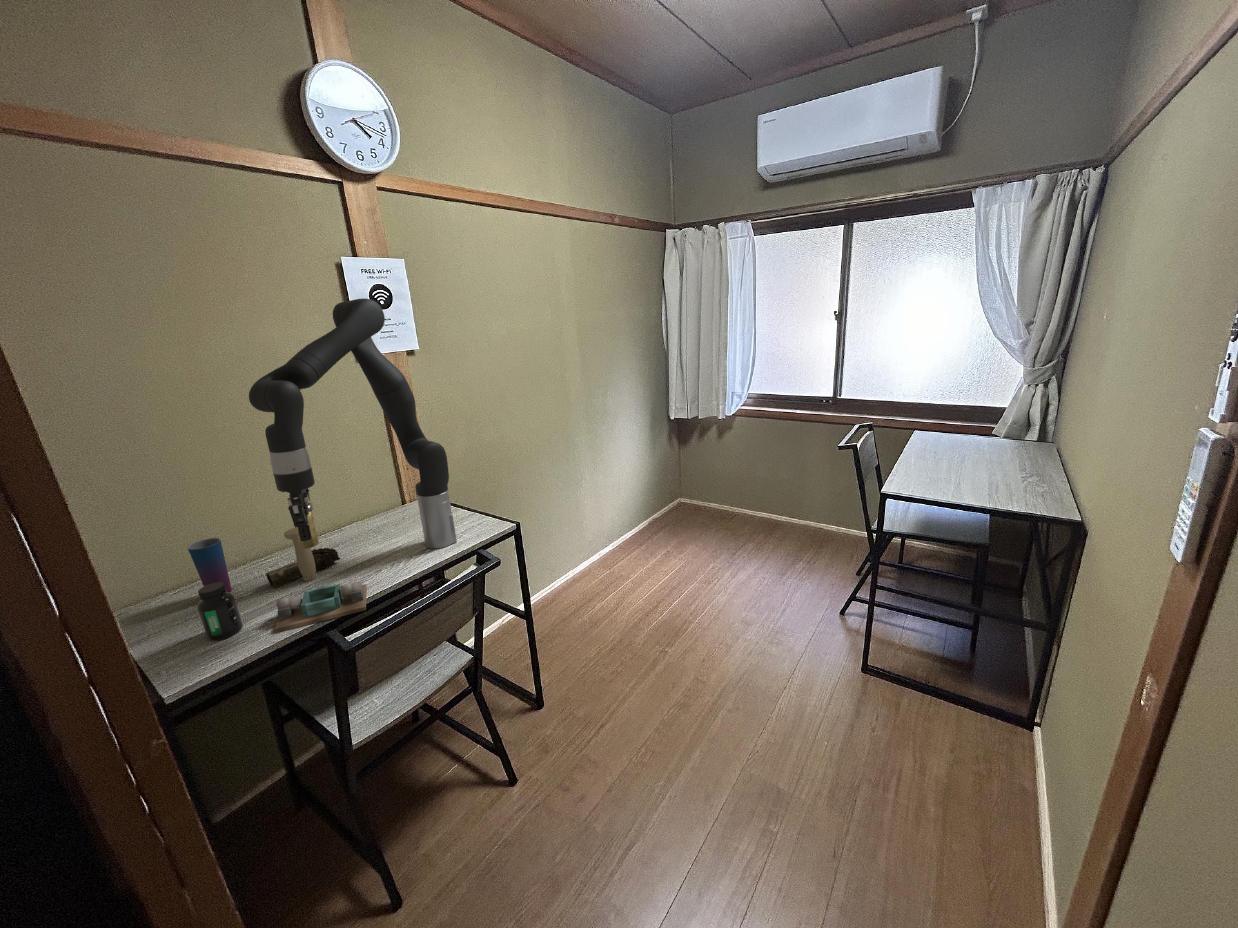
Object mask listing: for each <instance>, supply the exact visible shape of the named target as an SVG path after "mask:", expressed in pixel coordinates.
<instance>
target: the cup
mask: <svg viewBox="0 0 1238 928" xmlns="http://www.w3.org/2000/svg"><path fill="white" fill-rule="evenodd" d="M187 551H188V553H189V554H190V558H191V559H192V562H193V564H194V567H195V569H196V571H197V574H198V575H199V579H200V581H201V583H202V587H204V586H206V585H209V584H212V583H218V582H221V583H224V585H225V588H226V590H227V591H226V592H230V593H232V585H231V582H230V576H229V571H228V568H227V562H226V557H225V553H224V550H223V545H222V540H221V538H220V537H209V538H204V539H200V540H196V541H194V542H192V543H190V544H189V545H188V546H187Z"/></svg>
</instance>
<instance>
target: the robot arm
mask: <svg viewBox="0 0 1238 928" xmlns="http://www.w3.org/2000/svg"><path fill="white" fill-rule="evenodd" d="M332 319H333V322H334V325H335V328H333V329H331V330H330V331H329V332H327V333H326V334H324V335H322V336H320V337H318V338H316V339H314V340H313V341H311V342H310V343H309V344H307V345H305V346H304V347H303V348H301V349H300V350H299V351H297V353H296V354H294V356H292V357H291V358H290V359H289V360H288V361H287V362H286V363H285V364H283V365H282V366H278V367H277V368H275V369H274V370H272V371H270V372H269V373H266V374H265V375H263V376H262V377H260V378H259V379H258V380H256V381H255V382H254V383H253V384H252V386H251V388H250V389H249V391H248V400H249V402H250V405H251V406H252V407H253V408H254V409H255V410H258V411H259V412H264V413H273V414H274V415H273V416H274V417H273V419H274V420H273V421H274V422H273V423H272V424H268V425H267V427H266V428H265V434H264V435H265V438H266V439H265V440H266V442H267V447H268V451H269V457H270V458H269V461H270V465H271V469H272V475H273V477H274V483H275V486H276V490H277V491H279V492H281V493H288V494H289V496H288V497H287V502H288V510H289V514H290V517H291V519H292V522H293V527H294V528H295V527H298V531H299V535H300V539H301V541H308V540H311V538H312V536H311V531H310V527H309V520H308V515H309V514H310V512H309V506H308V503H312V502H311V493H310V490H309V488H311V487H313V486H314V485H315V484H316V483H315V477H314V472H313V467H312V463H311V458H310V454H309V452H308V449H307V447H306V441H305V436H304V432H303V424H304V413H305V412H304V409H305V408H304V407H305V400H304V396H303V394H302V391H301V390H304V389H309V388H311V387H313V386H314V385H315V384H316V383H317V382H319V380H320V379H321V378H323V376H324V375H325V374H327V373H328V372H329V371H330V370H331V368H333V367H334V366H335V365H336V364H337V363H338V362H339V361H341V360H342V359H343V358H344V357H345V356H346V355H347V354H349V353H350V352H351V353H352V354H353V357H355V360H356V361H357V363H358V365H359V366H360V368H361V371H362V372H363V374H364V376H365V377H366V380H367V381H368V383H369V385H370V388H371V389H372V392H373V394H374V395H375V398H376V399H377V401H378V403H379V405H380V407H381V409H382V410H383V413H384V414H385V416H386V418H387V419H388V422H389V423H390V426H391V427H392V429H393V431H394V433H395V435H396V437H397V441H398V442H399V445H400V447H401V450H402V453H403V456H404V457H405V460H406V462H407V463H408V465H409V466H411V467H412V468H414V469H416V470H418V472H419V480H420V481H419V482H416V485H415V494H416V498H417V499H416V500H417V505H418V511H419V515H420V521H421V526H422V533H423V541H424V545H425V546H426V548H429V549H442V548H445V547H448V546H451V545H452V544H456V543H458V540H457V533H456V529H455V528H456V527H455V521H454V515H453V512H452V505H451V501H450V494H449V487H448V484H449V480H450V473H449V463H448V456H447V452H446V450H445V448H444V447H443V445H442V444H440V443H439V442H435V441H431V440H429V439H428V438H427V437H426V436H425V434H424V433H423V430H422V429H421V427H420V424H419V422H418V419H417V411H416V410H417V408H416V407H417V406H416V400H415V395H414V393H413V391H412V388H411V387H410V384H409V382H408V381H407V378H406V377H405V375H404V374H403V372H402V371H401V370H400V369H399V368H398V367H397V366H395V365H394V364H393V363H392V362H391V361H390V360H389V359H388V358H387V357H386V356H384V354H382V352H381V351H380V350H379V349H378V347H377V346H376V344H375V342H374V340H373V338H372V337H373V336H374V335H376V334H378V333H379V332H381V330H382V329H383V327H384V326H385V320H386V317H385V313H384V311H383V308H382V306H381V305H380V304H379V303H377V301H375V300H373V299H371V298H370V299H369V298H356V299H350V300H346V301H341V302H338V303H337V304H336V305H334V307H333V309H332ZM304 509H306V511H305V512H304ZM298 519H303V521H299V520H298Z"/></svg>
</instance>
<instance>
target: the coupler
mask: <svg viewBox="0 0 1238 928" xmlns="http://www.w3.org/2000/svg"><path fill="white" fill-rule="evenodd" d="M308 506H309V512H310V514H309V515H308V520H309V527H310V531H311V536H312V538H311V540H308V541H301V539H300V535H299V531H298V527H295V526H294V528H295V529H296V533H297V537H298V542H299V546H300V548H302V549H306V548H314V547H316V546H318V545H319V544H320V541H319V536H318V532H317V528H316V523H315V519H314V515H313V510H314V506H313V503H312V502H311V503H308ZM305 511H306V509H304V512H305ZM298 520H299V521H303V519H298Z"/></svg>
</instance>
